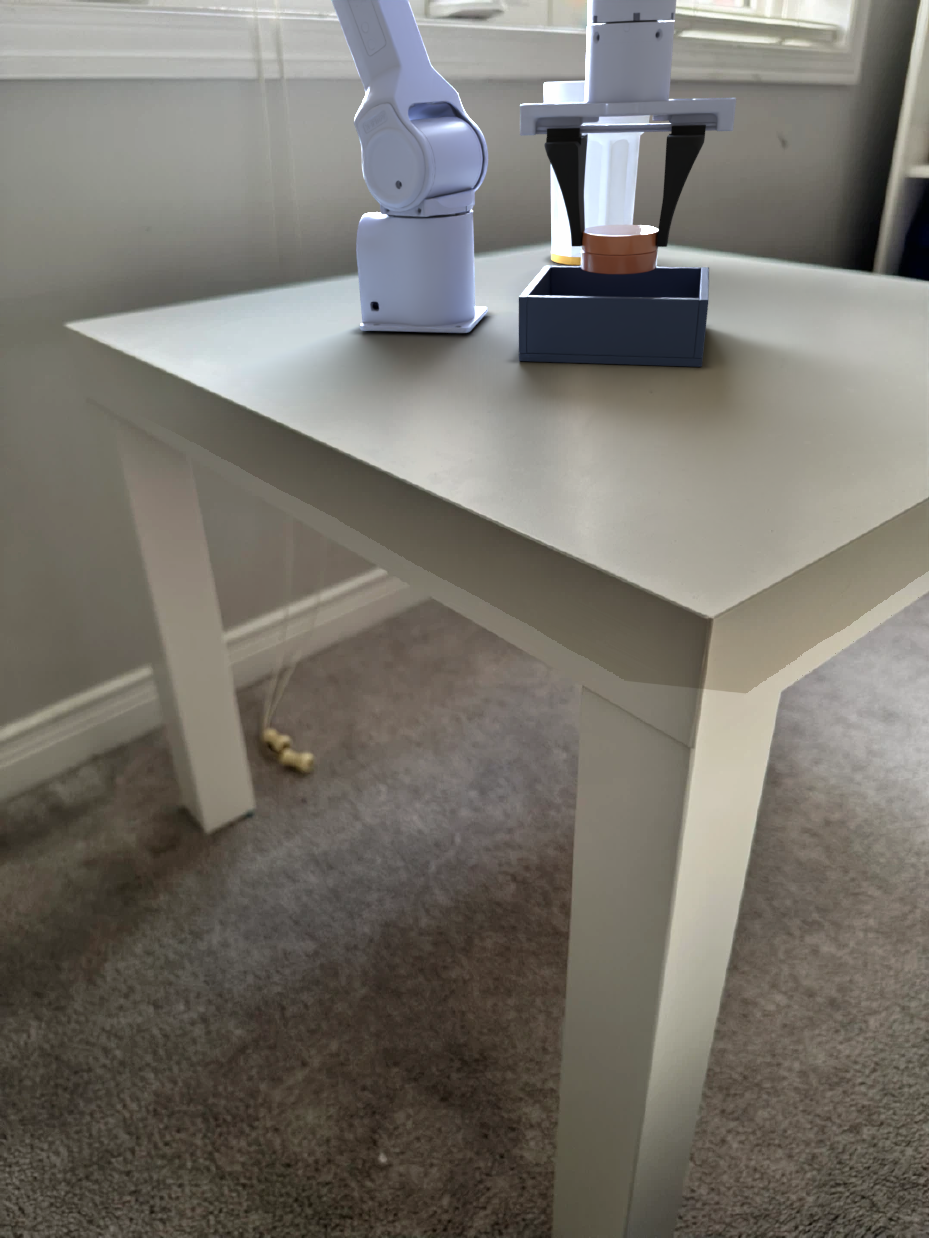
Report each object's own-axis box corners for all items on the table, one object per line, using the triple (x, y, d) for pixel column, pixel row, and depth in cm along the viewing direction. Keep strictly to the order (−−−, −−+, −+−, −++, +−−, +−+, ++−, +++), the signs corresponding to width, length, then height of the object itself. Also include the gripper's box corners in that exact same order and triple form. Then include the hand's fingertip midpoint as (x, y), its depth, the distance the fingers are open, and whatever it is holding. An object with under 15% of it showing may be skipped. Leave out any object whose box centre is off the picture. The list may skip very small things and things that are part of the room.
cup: (644, 250, 107) (656, 78, 98) (638, 268, 97) (650, 79, 88) (548, 250, 109) (551, 81, 100) (533, 267, 100) (535, 83, 91)
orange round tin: (576, 274, 66) (577, 236, 65) (585, 260, 71) (586, 224, 69) (654, 275, 65) (657, 236, 64) (658, 261, 70) (661, 224, 68)
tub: (518, 361, 67) (518, 296, 65) (543, 322, 77) (544, 265, 75) (701, 367, 65) (708, 300, 62) (703, 326, 75) (709, 267, 72)
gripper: (511, 27, 58) (512, 253, 65) (746, 16, 55) (720, 254, 62) (529, 31, 64) (528, 237, 71) (743, 21, 61) (720, 238, 68)
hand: (619, 244), depth 67 cm, fingers closed on orange round tin, 5 cm apart
